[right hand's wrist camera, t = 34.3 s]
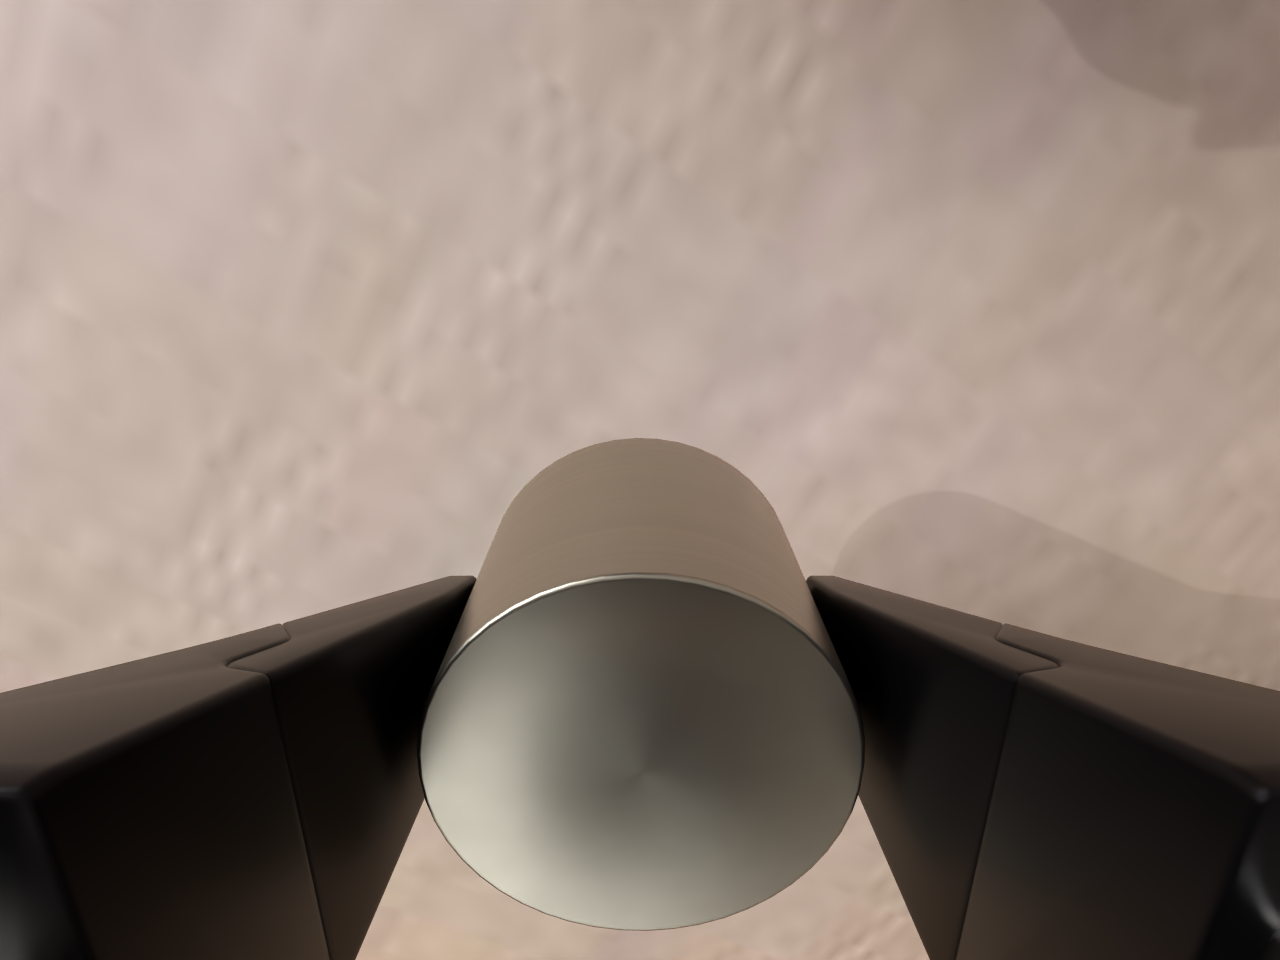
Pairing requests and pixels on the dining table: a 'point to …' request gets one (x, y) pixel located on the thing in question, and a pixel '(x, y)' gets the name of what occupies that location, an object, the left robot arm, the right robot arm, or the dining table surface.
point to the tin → (640, 698)
